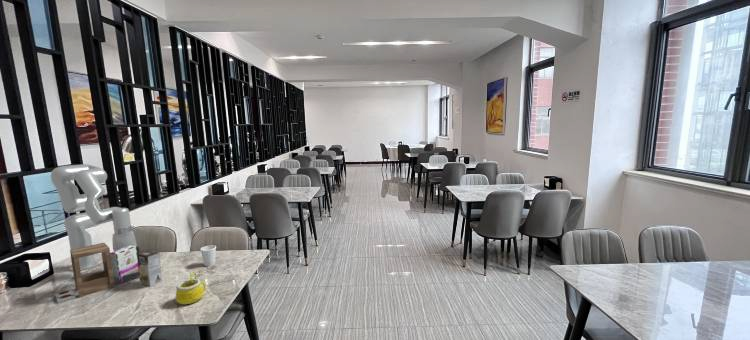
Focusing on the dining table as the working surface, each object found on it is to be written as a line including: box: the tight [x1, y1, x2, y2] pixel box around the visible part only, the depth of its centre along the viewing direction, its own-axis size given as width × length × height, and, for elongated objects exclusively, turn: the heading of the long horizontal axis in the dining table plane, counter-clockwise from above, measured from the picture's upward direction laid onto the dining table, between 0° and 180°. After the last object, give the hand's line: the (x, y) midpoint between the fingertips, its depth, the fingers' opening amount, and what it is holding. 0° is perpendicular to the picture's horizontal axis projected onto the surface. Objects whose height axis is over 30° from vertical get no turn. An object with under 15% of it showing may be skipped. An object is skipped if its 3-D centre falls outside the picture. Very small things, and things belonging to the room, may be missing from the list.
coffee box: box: [137, 249, 163, 287], centre depth 166 cm, size 9×6×16 cm
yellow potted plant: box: [175, 269, 207, 305], centre depth 148 cm, size 13×11×12 cm
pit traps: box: [54, 288, 76, 305], centre depth 154 cm, size 12×6×1 cm, turn 49°
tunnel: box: [69, 242, 115, 298], centre depth 161 cm, size 13×13×21 cm
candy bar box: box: [110, 245, 139, 284], centre depth 171 cm, size 11×5×16 cm, turn 168°
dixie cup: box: [199, 245, 217, 267], centre depth 188 cm, size 8×8×10 cm
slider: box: [107, 245, 141, 286], centre depth 175 cm, size 19×16×12 cm
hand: (127, 261), depth 182 cm, fingers closed
